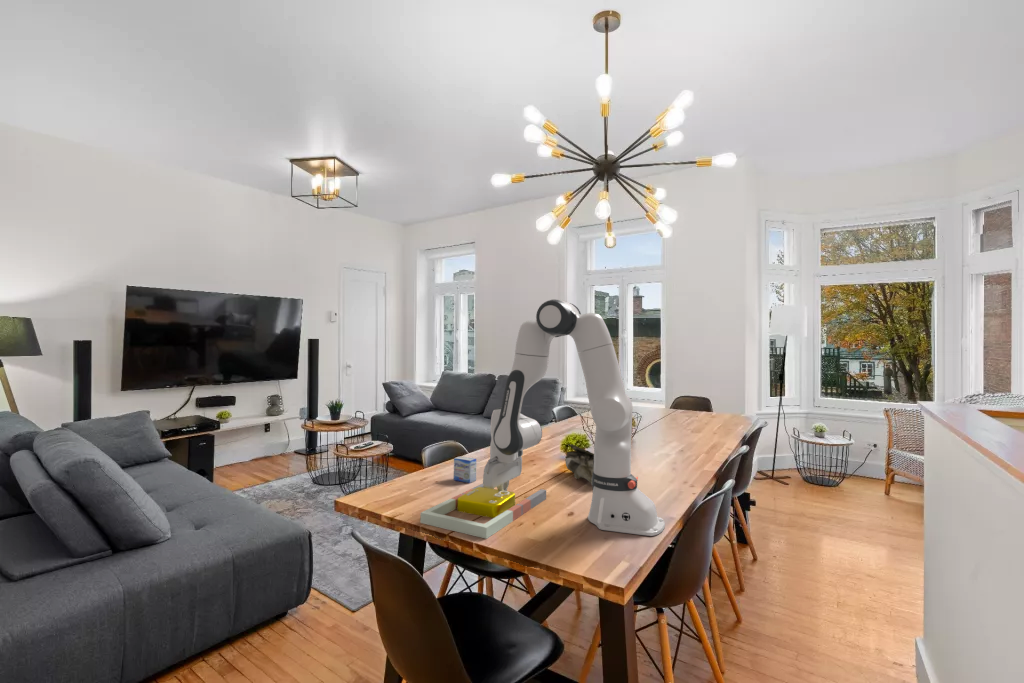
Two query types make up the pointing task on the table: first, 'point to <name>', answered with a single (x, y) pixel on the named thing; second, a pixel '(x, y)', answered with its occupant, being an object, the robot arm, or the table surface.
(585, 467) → the hollow geode rock
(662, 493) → the table surface
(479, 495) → the element tile
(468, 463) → the medicine box
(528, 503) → the trap track
